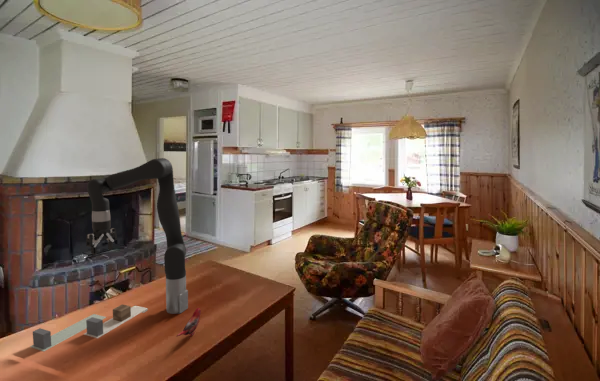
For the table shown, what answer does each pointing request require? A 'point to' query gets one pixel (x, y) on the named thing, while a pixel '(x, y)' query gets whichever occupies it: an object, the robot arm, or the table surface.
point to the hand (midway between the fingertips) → (102, 251)
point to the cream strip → (108, 323)
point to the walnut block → (121, 313)
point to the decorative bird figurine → (191, 324)
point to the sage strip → (58, 334)
